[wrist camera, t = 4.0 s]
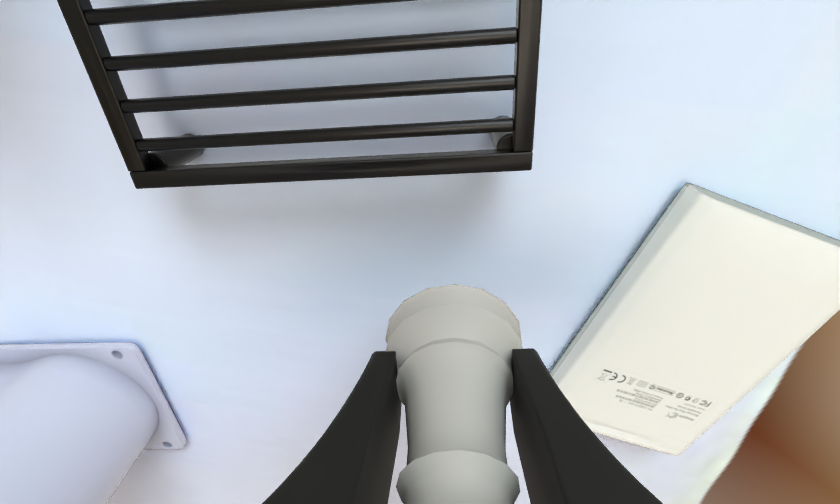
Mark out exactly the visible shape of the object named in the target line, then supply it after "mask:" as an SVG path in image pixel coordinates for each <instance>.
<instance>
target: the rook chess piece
mask: <svg viewBox="0 0 840 504" xmlns="http://www.w3.org/2000/svg"><path fill="white" fill-rule="evenodd" d="M386 341H387V349H386V351H396V359H397V373H398V375H397V379H396V383H397V390H398V395H399V398H400V401H401V402H402V403H403V404H404V405H405V412H406V426H407V440H408V455H407V466H406V467H405V468H404V469H403V470H402V471H401V472H400V474H399V478H398V482H397V485H396V488H397V491H398V493H399V496H400V498H401V501H402V502H403V503H404V504H514V502H515V501H516V499H517V497H518V495H519V493H520V488H519V481H518V477H517V476H516V474H515V473H514V472H513V471H512V470H511V469H510V468H509V467H508V466H507V459H506V452H505V440H506V406H507V405H508V403H509V401H510V398H511V396H512V394H513V373H512V349H522V344H521V334H520V326H519V321H518V319H517V318H516V317H515V315H514V314H513V312H512V311H511V310H510V308H509V307H508V305H507V304H506V303H505V302H504V301H502V300H500V299H498V298H497V297H495V296H493V295H492V294H490V293H488V292H487V291H485V290H483V289H478V288H473V287H467V286H462V285H456V284H453V285H446V286H440V287H433V288H427V289H425V290H423V291H421V292H419V293H418V294H416V295H414V296H412V297H410V298H408V299H406V300H404V301H403V303H402V304H401V305H400V306H399V308H398V309H397V310H396V311H395V313H394V314H393V315H392V316H391V318H390V320H389V325H388V330H387V335H386Z"/></svg>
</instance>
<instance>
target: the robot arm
mask: <svg viewBox="0 0 840 504" xmlns="http://www.w3.org/2000/svg"><path fill="white" fill-rule="evenodd" d="M512 373H513V394H512V396H511V398H510V405H511V413H512V421H513V429H514V434H515V439H516V443H517V447H518V452H519V456H520V460H521V464H522V469H523V473H524V477H525V481H526V486H527V490H528V494H529V498H530V502H531V504H663V503H662V502H661V501H659V500H658V499H657V498H656V497H655V496H654V495H653V494H652V493H651V492H650V491H648V490H647V489H646V488H645V487H644V486H643V485H642V484H641V483H640V482H639V481H638V480H637V479H636V478H635V477H634V476H633V475H632V474H631V473H630V472H629V471H628V470H627V469H626V468H625V467H624V466H623V465H622V464H621V463H620V462H619V461H618V460H617V459H616V458H615V457H614V456H613V454H612V453H611V452H610V451H609V450H608V449H607V448H606V447H605V446H604V445H603V443H602V442H601V441H600V440H599V439H598V438H597V436H596V435H595V434H594V433H593V432H592V430H591V429H590V428H589V427H588V426H587V424H586V423H585V422H584V421H583V419H582V418H581V417H580V416H579V414H578V413H577V412H576V410H575V409H574V408H573V406H572V405H571V404H570V402H569V401H568V399H567V398H566V397H565V395H564V394H563V393H562V391H561V390H560V388H559V387H558V385H557V384H556V382H555V381H554V379H553V378H552V376H551V375H550V373H549V372H548V370H547V368H546V367H545V365H544V363H543V362H542V360H541V358H540V357H539V355H538V353H537V351H536V350H534V349H512ZM397 375H398V373H397V359H396V351H375V352H374V353H373V354H372V356H371V358H370V360H369V362H368V364H367V366H366V368H365V370H364V372H363V374H362V375H361V377H360V379H359V381H358V382H357V384H356V386H355V388H354V389H353V391H352V392H351V394H350V396H349V397H348V399H347V400H346V402H345V404H344V405H343V407H342V408H341V410H340V411H339V413H338V414H337V416H336V417H335V419H334V420H333V421H332V423H331V424H330V426H329V427H328V429H327V430H326V431H325V433H324V434H323V435H322V437H321V438H320V439H319V441H318V442H317V443H316V445H315V446H314V447H313V448H312V450H311V451H310V452H309V453H308V454H307V456H306V457H305V458H304V459H303V461H302V462H301V463H300V464H299V465H298V466H297V467H296V468H295V470H294V471H293V472H292V473H291V474H290V475H289V476H288V477H287V478H286V480H285V481H284V482H283V483H282V484H281V485H280V486H279V487H278V488H277V489H276V490H275V491H274V492H273V493H272V494H271V495H270V496H269V497H268V498H267V499H266V500H265V501H264V502H263V503H262V504H388V498H389V492H390V486H391V480H392V474H393V468H394V463H395V457H396V451H397V445H398V439H399V432H400V417H401V401H400V398H399V395H398V390H397V383H396V379H397ZM186 443H187V439H186V437H185V435H184V433H183V431H182V429H181V428H180V426H179V424H178V422H177V420H176V418H175V416H174V414H173V412H172V410H171V408H170V406H169V404H168V402H167V400H166V398H165V396H164V395H163V393H162V391H161V389H160V387H159V385H158V383H157V381H156V379H155V377H154V375H153V373H152V371H151V369H150V367H149V365H148V363H147V362H146V360H145V358H144V356H143V354H142V352H141V350H140V348H139V347H138V346H137V345H135V344H133V343H129V342H113V343H59V344H4V345H0V504H107V502H108V501H109V499H110V498H111V496H112V495H113V493H114V492H115V490H116V489H117V487H118V486H119V484H120V483H121V481H122V480H123V478H124V477H125V475H126V474H127V473H128V471H129V470H130V468H131V467H132V465H133V464H134V462H135V461H136V459H137V458H138V456H139V455H140V453H141V452H142V450H143V449H154V450H178V449H182V448H184V446H185V444H186Z"/></svg>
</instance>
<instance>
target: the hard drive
mask: <svg viewBox="0 0 840 504" xmlns="http://www.w3.org/2000/svg"><path fill="white" fill-rule="evenodd" d="M839 309H840V241H839V240H837V239H834V238H832V237H829V236H826V235H824V234H821V233H819V232H816V231H813V230H811V229H808V228H806V227H803V226H800V225H798V224H795V223H792V222H790V221H787V220H784V219H782V218H779V217H777V216H774V215H771V214H769V213H766V212H764V211H761V210H759V209H756V208H753V207H751V206H748V205H745V204H743V203H740V202H738V201H735V200H732V199H730V198H727V197H724V196H722V195H719V194H717V193H714V192H711V191H709V190H706V189H704V188H701V187H699V186H696V185H693V184H690V183H686V184H684V186H683V187H682V189H681V190H680V191H679V193H678V194H677V196H676V197H675V198H674V200H673V201H672V203H671V204H670V205H669V207H668V208H667V210H666V211H665V213H664V214H663V215H662V217H661V218H660V219H659V221H658V222H657V224H656V225H655V226H654V228H653V229H652V231H651V232H650V233H649V234H648V236H647V237H646V239H645V240H644V242H643V243H642V244H641V246H640V247H639V249H638V250H637V252H636V253H635V254H634V256H633V257H632V259H631V260H630V261H629V263H628V264H627V265H626V267H625V268H624V269H623V271H622V272H621V274H620V275H619V277H618V278H617V279H616V281H615V282H614V283H613V285H612V286H611V288H610V289H609V291H608V292H607V293H606V295H605V296H604V298H603V299H602V300H601V302H600V303H599V305H598V306H597V307H596V309H595V310H594V311H593V313H592V314H591V315H590V317H589V319H588V320H587V321H586V323H585V324H584V325H583V327H582V328H581V330H580V331H579V332H578V334H577V335H576V337H575V338H574V339H573V341H572V342H571V344H570V345H569V346H568V348H567V349H566V351H565V352H564V354H563V355H562V356H561V358H560V359H559V360H558V362H557V363H556V365H555V366H554V367H553V369H552V370H551V372H550V375H551V376H552V378H553V379H554V381H555V382H556V384H557V385H558V387H559V388H560V390H561V391H562V393H563V394H564V395H565V397H566V398H567V399H568V401H569V402H570V404H571V405H572V406H573V408H574V409H575V410H576V412H577V413H578V414H579V416H580V417H581V418H582V419H583V421H584V422H585V423H586V424H587V426H588V427H589V428H590V429H591V430H592V432H595V433H599V434H602V435H606V436H609V437H612V438H615V439H619V440H622V441H625V442H629V443H632V444H636V445H639V446H643V447H646V448H650V449H653V450H656V451H659V452H663V453H666V454H670V455H680V454H682V452H684V451H685V450H686V449H687V448H688V447H689V446H690V445H691V444H692V443H694V441H695V440H696V439H697V438H699V437H700V436H701V435H702V434H703V433H704V432H705V431H707V430H708V429H709V428H710V427H711V426H712V425H713V424H714V423H715V422H717V421H718V420H719V419H720V418H721V417H722V416H723V415H724V414H725V413H726V412H728V411H729V410H730V409H731V408H732V407H733V406H734V405H735V404H736V403H737V402H739V401H740V400H741V399H742V398H743V397H744V396H745V395H746V394H747V393H748V392H750V391H751V390H752V389H753V388H754V387H755V386H756V385H757V384H758V383H760V382H761V381H762V380H763V379H764V378H765V377H766V376H767V375H768V374H769V373H771V372H772V371H773V370H774V369H775V368H776V367H777V366H778V365H779V364H780V363H781V362H783V361H784V360H785V359H786V358H787V357H788V356H789V355H790V354H791V353H792V352H794V351H795V350H796V349H797V348H798V347H799V346H800V345H801V344H802V343H804V342H805V341H806V340H807V339H808V338H809V337H810V336H811V335H812V334H813V333H814V332H816V331H817V330H818V329H819V328H820V327H821V326H822V325H823V324H824V323H825V322H826V321H828V319H830V318H831V317H832V316H833V315H834V314H835V313H836V312H837V311H838V310H839Z"/></svg>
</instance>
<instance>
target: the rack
mask: <svg viewBox="0 0 840 504" xmlns="http://www.w3.org/2000/svg"><path fill="white" fill-rule="evenodd" d="M57 1H58V4H59V6H60V9H61V11H62V13H63V16H64V18H65V20H66V23H67V25H68V28H69V30H70V32H71V35H72V37H73V40H74V42H75V44H76V47H77V49H78V51H79V54H80V56H81V59H82V61H83V63H84V66H85V68H86V71H87V73H88V75H89V78H90V80H91V82H92V85H93V87H94V90H95V92H96V94H97V97H98V99H99V102H100V104H101V106H102V109H103V111H104V114H105V116H106V118H107V121H108V123H109V125H110V128H111V130H112V133H113V135H114V137H115V140H116V142H117V145H118V147H119V149H120V152H121V154H122V156H123V159H124V161H125V164H126V166H127V168H128V171H130V175H131V178H132V180H133V182H134V185H135V187H136V188H137V189H142V188H164V187H185V186H206V185H227V184H248V183H270V182H291V181H312V180H333V179H354V178H376V177H397V176H418V175H439V174H461V173H482V172H503V171H524V170H531V169H532V155H533V153H532V150H533V139H534V123H535V107H536V92H537V76H538V60H539V44H540V29H541V13H542V0H517V8H516V27H510V28H496V29H482V30H469V31H455V32H441V33H427V34H413V35H399V36H386V37H372V38H358V39H344V40H330V41H317V42H303V43H289V44H275V45H261V46H247V47H234V48H220V49H206V50H192V51H178V52H164V53H151V54H137V55H123V56H111V54H110V52H109V49H108V47H107V44H106V41H105V39H104V36H103V34H102V31H101V28H100V26H99V25H109V24H122V23H135V22H147V21H160V20H173V19H186V18H199V17H211V16H224V15H237V14H250V13H262V12H275V11H288V10H301V9H313V8H326V7H339V6H352V5H364V4H377V3H390V2H403V1H415V0H197V1H185V2H172V3H160V4H148V5H135V6H123V7H111V8H99V9H93V8H92V5H91V3H90V0H57ZM501 44H515V61H514V75H500V76H485V77H469V78H454V79H438V80H422V81H407V82H391V83H376V84H360V85H344V86H329V87H313V88H297V89H282V90H266V91H251V92H235V93H219V94H204V95H188V96H173V97H157V98H141V99H128V98H127V96H126V93H125V91H124V88H123V85H122V83H121V80H120V78H119V75H118V72H117V71H127V70H141V69H155V68H170V67H184V66H199V65H213V64H227V63H242V62H256V61H271V60H285V59H299V58H314V57H328V56H343V55H357V54H371V53H386V52H400V51H415V50H429V49H443V48H458V47H472V46H487V45H501ZM500 90H513V113H512V118H509V117H507V116H499V117H497V118H495V119H481V120H463V121H446V122H428V123H410V124H393V125H375V126H357V127H340V128H322V129H304V130H286V131H269V132H251V133H233V134H216V135H198V136H195V135H192V134H185V135H183V136H180V137H163V138H145V139H143V137H142V134H141V132H140V129H139V127H138V124H137V122H136V119H135V116H134V114H133V113H142V112H158V111H174V110H191V109H207V108H223V107H239V106H256V105H272V104H288V103H305V102H321V101H337V100H353V99H370V98H386V97H402V96H419V95H435V94H451V93H467V92H484V91H500ZM478 133H490V134H491V137H492V140H493V143H494V146H495V150H475V151H456V152H436V153H417V154H397V155H377V156H358V157H338V158H319V159H299V160H280V161H260V162H240V163H221V164H201V165H185V164H187V163H189V162H190V161H192V160H193V159H195V158H197V157H198V156H200V155H201V154H202V152H203V148H219V147H238V146H256V145H275V144H293V143H312V142H330V141H349V140H367V139H386V138H404V137H423V136H441V135H460V134H478ZM148 151H151V152H149V153H148Z"/></svg>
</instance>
